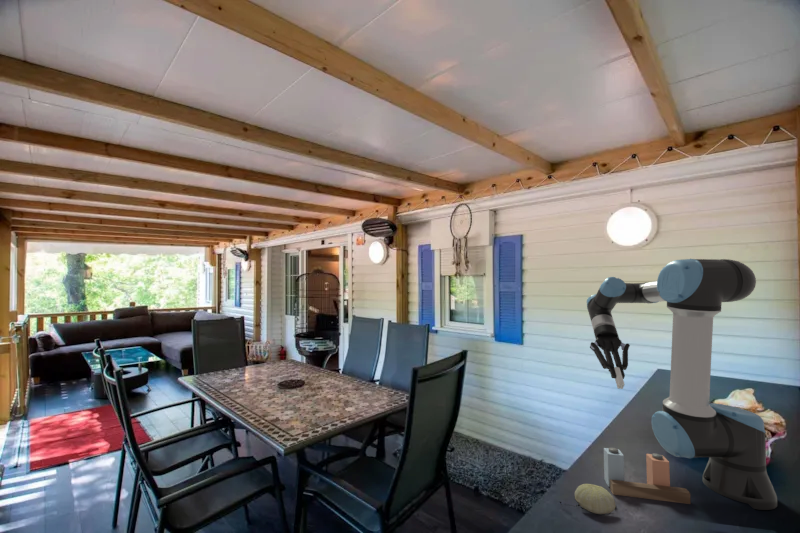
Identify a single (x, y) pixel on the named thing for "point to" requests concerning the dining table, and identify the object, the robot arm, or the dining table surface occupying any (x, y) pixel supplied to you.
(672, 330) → the robot arm
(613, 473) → the grey socket block
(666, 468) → the terracotta plug
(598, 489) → the sea urchin shell
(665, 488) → the maple board
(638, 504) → the dining table surface
